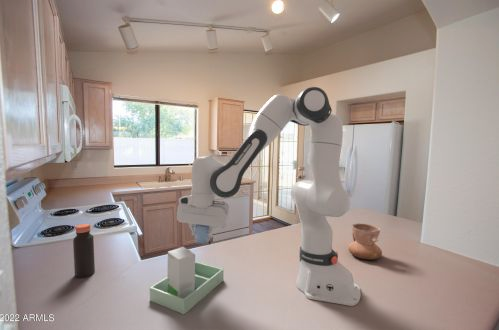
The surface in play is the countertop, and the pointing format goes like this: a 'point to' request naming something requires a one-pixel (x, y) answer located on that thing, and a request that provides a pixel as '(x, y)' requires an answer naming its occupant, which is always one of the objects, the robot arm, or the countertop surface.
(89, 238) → the vinegar
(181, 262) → the skincare box
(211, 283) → the green divided tray
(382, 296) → the countertop surface
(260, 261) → the countertop surface
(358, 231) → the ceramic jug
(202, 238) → the light blue rounded cone
